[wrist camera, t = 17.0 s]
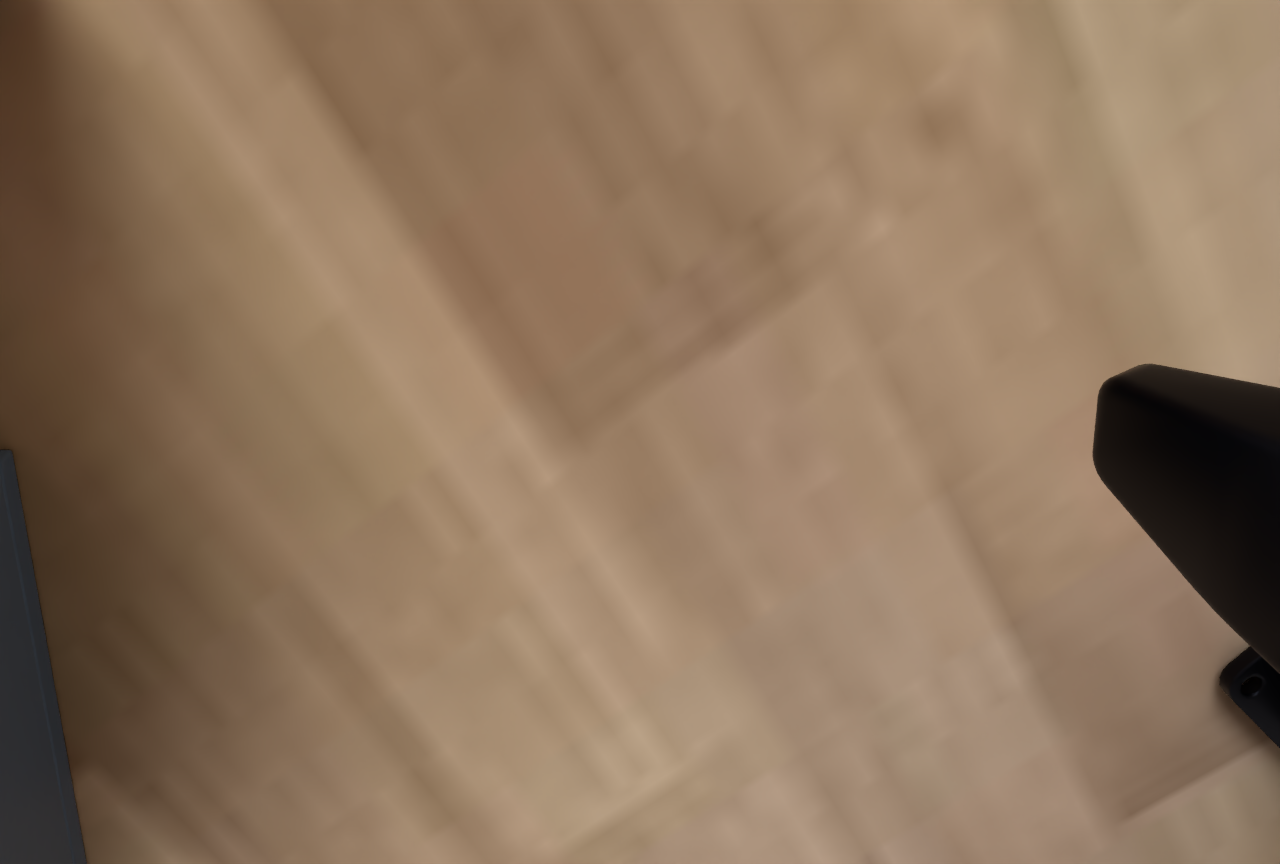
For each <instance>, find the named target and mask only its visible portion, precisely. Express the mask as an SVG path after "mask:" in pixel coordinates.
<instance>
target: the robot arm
mask: <svg viewBox="0 0 1280 864" xmlns="http://www.w3.org/2000/svg"><path fill="white" fill-rule="evenodd" d="M1093 461H1094V465H1095V468H1096V471H1097V473H1098V475H1099V476H1100V478H1101V480H1102V481H1103V483H1104V484H1105V485H1106V486H1107V488H1108V489H1109V490H1110V491H1111V492H1112V493H1113V494H1114V496H1115V497H1116V498H1117V499H1118V500H1119V501H1120V503H1121V504H1122V505H1123V506H1124V507H1125V508H1126V510H1127V511H1128V512H1129V513H1130V514H1131V515H1132V517H1133V518H1134V519H1135V520H1136V521H1137V522H1138V524H1139V525H1140V526H1141V527H1142V528H1143V529H1144V531H1145V532H1146V533H1147V534H1148V535H1149V536H1150V538H1151V539H1152V540H1153V541H1154V542H1155V543H1156V545H1157V546H1158V547H1159V548H1160V549H1161V550H1162V552H1163V553H1164V554H1165V555H1166V556H1167V557H1168V559H1169V560H1170V561H1171V562H1172V563H1173V564H1174V565H1175V567H1176V568H1177V569H1178V570H1179V571H1180V572H1181V574H1182V575H1183V576H1184V577H1185V578H1186V579H1187V581H1188V582H1189V583H1190V584H1191V585H1192V586H1193V588H1194V589H1195V590H1196V591H1197V592H1198V593H1199V594H1200V595H1201V596H1202V598H1203V599H1204V600H1205V601H1206V602H1207V603H1208V604H1209V605H1210V606H1211V607H1212V609H1213V610H1214V611H1215V612H1216V613H1217V614H1218V615H1219V616H1220V617H1221V618H1222V619H1223V620H1224V621H1225V622H1226V623H1227V624H1228V625H1229V626H1230V627H1231V628H1232V629H1233V630H1234V631H1235V632H1236V633H1237V634H1238V635H1239V636H1241V637H1242V638H1243V639H1244V640H1245V641H1246V642H1247V643H1248V644H1249V645H1250V647H1249V648H1247V649H1246V650H1245V651H1244V652H1243V653H1241V654H1240V655H1239V656H1238V657H1236V658H1235V659H1234V660H1233V661H1231V662H1230V663H1229V664H1228V665H1227V666H1226V667H1225V668H1224V669H1223V671H1222V673H1221V676H1220V686H1221V688H1222V690H1223V691H1224V692H1225V693H1226V694H1227V695H1228V696H1229V697H1230V698H1231V699H1232V700H1233V701H1234V702H1235V703H1236V704H1237V705H1238V706H1239V707H1240V708H1241V709H1242V710H1243V711H1244V712H1245V713H1246V714H1247V715H1248V716H1249V717H1250V718H1251V719H1252V720H1253V722H1254V723H1255V724H1256V725H1257V726H1258V727H1259V728H1260V729H1261V730H1262V731H1263V732H1264V733H1265V734H1266V735H1267V736H1268V737H1269V738H1270V739H1271V740H1272V741H1273V742H1274V743H1275V744H1276V745H1277V746H1278V747H1279V748H1280V388H1277V387H1272V386H1267V385H1262V384H1256V383H1251V382H1246V381H1240V380H1235V379H1230V378H1225V377H1219V376H1214V375H1209V374H1204V373H1198V372H1193V371H1188V370H1183V369H1177V368H1172V367H1167V366H1162V365H1156V364H1143V365H1138V366H1136V367H1134V368H1131V369H1129V370H1127V371H1125V372H1122V373H1120V374H1118V375H1116V376H1113V377H1111V378H1109V379H1108V380H1106V381H1105V382H1104V383H1103V385H1102V387H1101V388H1100V390H1099V394H1098V401H1097V412H1096V422H1095V432H1094V443H1093ZM1250 677H1251V678H1250ZM1249 678H1250V679H1249ZM1247 679H1249V680H1248V682H1246V683H1244V681H1245V680H1247ZM1243 683H1244V684H1243ZM1242 684H1243V685H1242Z"/></svg>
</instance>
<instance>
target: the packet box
mask: <svg viewBox="0 0 1280 864" xmlns="http://www.w3.org/2000/svg"><path fill="white" fill-rule="evenodd" d="M0 864H87V862H86V857H85V851H84V846H83V840H82V835H81V829H80V824H79V818H78V813H77V807H76V802H75V796H74V791H73V785H72V780H71V774H70V769H69V763H68V758H67V752H66V746H65V741H64V735H63V730H62V724H61V719H60V713H59V708H58V702H57V697H56V691H55V686H54V680H53V675H52V669H51V664H50V658H49V653H48V647H47V642H46V636H45V630H44V625H43V619H42V614H41V608H40V603H39V597H38V592H37V586H36V581H35V575H34V570H33V564H32V559H31V553H30V548H29V542H28V537H27V531H26V526H25V520H24V515H23V509H22V503H21V498H20V492H19V487H18V481H17V476H16V470H15V465H14V459H13V454H12V451H11V450H0Z"/></svg>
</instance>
